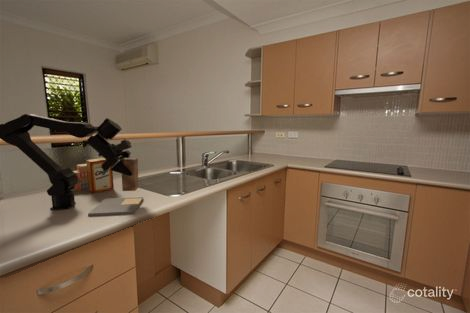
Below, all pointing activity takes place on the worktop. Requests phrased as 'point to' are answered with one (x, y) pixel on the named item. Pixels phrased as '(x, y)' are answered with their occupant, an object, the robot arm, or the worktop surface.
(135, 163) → the walnut post
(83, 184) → the orange red carton
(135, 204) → the baseplate
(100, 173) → the baking soda box
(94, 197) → the worktop surface
